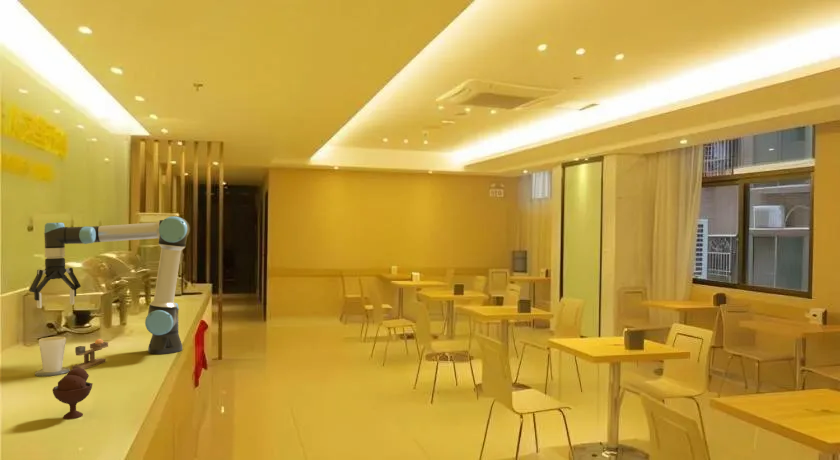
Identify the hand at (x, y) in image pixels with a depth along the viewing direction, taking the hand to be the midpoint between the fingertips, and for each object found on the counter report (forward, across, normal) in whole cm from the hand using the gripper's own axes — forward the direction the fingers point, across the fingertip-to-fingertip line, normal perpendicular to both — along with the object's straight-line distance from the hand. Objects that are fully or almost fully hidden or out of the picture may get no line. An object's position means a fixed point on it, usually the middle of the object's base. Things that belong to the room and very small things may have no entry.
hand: (56, 306), depth 262 cm
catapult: (+25, -4, +18) cm, 31 cm away
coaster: (+25, +10, +18) cm, 33 cm away
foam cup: (+24, +10, +18) cm, 32 cm away
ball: (+16, -10, +16) cm, 25 cm away
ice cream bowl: (+26, +34, +83) cm, 94 cm away
